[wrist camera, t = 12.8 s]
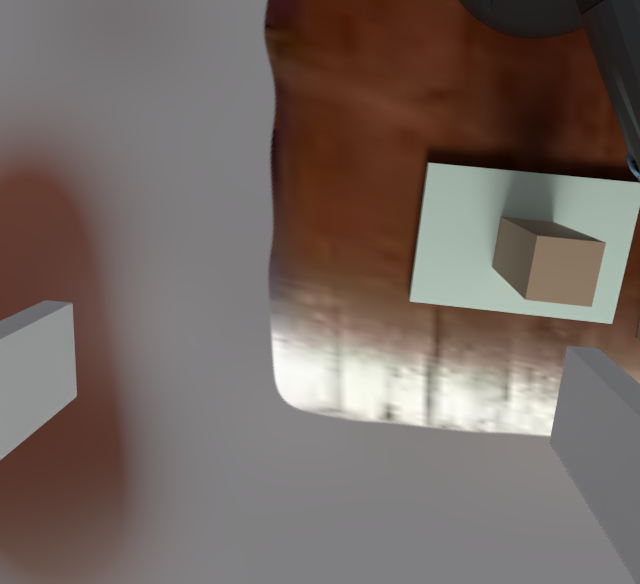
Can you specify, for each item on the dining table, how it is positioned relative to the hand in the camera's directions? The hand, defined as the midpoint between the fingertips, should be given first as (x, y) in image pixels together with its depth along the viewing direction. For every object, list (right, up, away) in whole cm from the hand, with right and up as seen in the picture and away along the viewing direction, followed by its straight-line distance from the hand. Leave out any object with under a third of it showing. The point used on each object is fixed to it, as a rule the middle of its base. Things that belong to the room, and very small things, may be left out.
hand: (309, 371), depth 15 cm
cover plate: (+16, +6, +30) cm, 35 cm away
